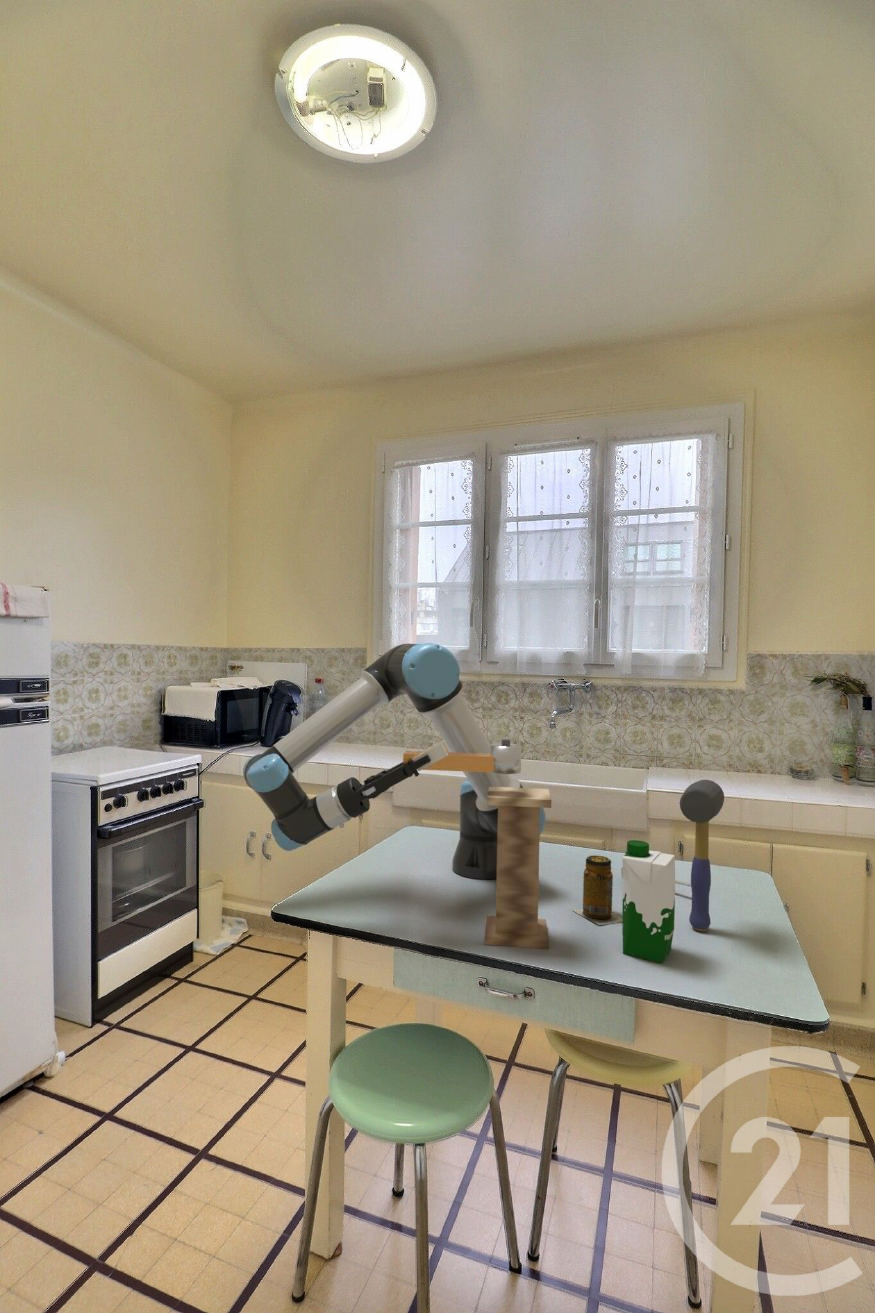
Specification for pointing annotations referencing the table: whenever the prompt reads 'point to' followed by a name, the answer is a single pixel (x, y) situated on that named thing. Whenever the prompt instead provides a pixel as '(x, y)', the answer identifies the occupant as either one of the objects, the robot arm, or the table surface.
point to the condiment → (598, 891)
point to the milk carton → (648, 902)
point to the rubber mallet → (701, 844)
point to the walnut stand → (517, 868)
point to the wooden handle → (478, 760)
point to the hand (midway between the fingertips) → (445, 747)
